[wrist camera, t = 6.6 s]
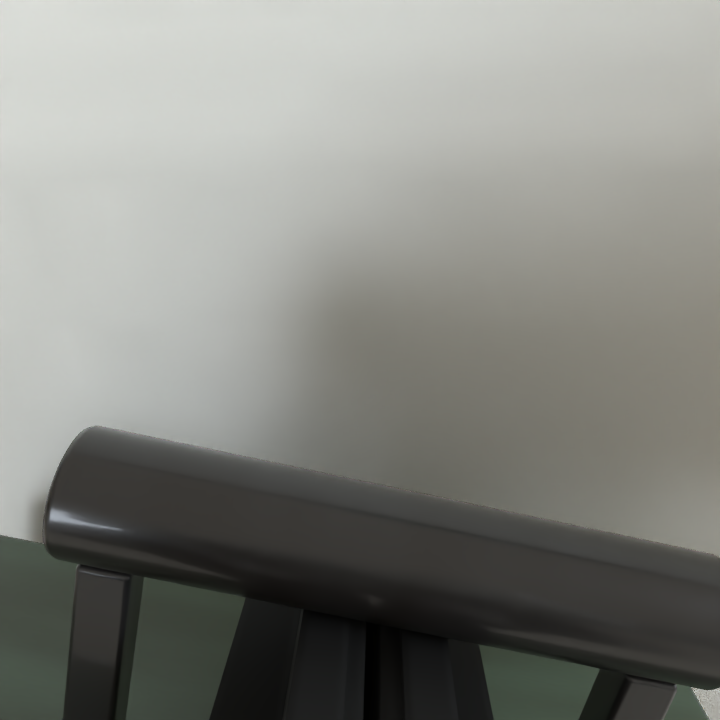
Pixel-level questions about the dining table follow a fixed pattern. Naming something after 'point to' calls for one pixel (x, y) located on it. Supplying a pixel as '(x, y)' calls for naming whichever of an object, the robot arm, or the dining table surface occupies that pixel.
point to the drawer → (331, 588)
